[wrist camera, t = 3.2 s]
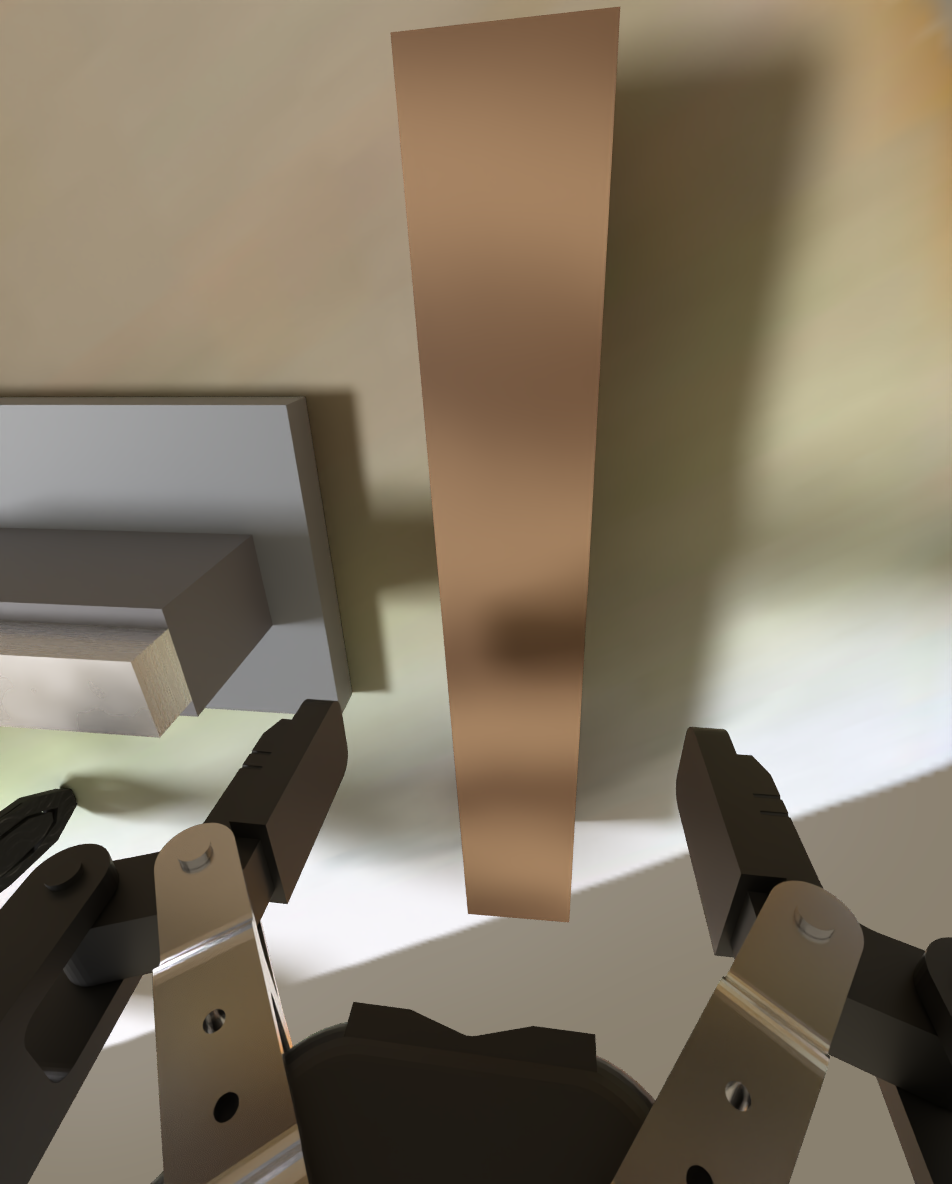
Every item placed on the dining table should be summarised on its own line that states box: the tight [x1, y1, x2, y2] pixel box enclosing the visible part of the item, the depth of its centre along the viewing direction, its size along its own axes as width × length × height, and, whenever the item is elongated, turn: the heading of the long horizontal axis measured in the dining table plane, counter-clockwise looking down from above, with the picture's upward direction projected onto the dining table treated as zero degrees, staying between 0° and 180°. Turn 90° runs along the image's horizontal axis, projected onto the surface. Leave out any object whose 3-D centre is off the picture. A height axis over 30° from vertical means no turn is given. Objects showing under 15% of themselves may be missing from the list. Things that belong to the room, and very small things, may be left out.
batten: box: [391, 7, 620, 922], centre depth 18 cm, size 26×4×5 cm, turn 3°
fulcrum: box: [0, 397, 352, 737], centre depth 18 cm, size 12×16×8 cm
